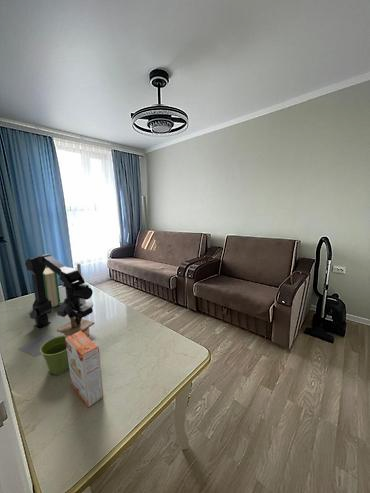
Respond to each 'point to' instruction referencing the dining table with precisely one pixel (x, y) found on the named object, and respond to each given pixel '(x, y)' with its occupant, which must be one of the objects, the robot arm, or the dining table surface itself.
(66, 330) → the lid
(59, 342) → the plant pot
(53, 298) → the hardback book
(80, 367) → the cracker box
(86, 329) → the bowl
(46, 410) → the dining table surface
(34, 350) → the mat
